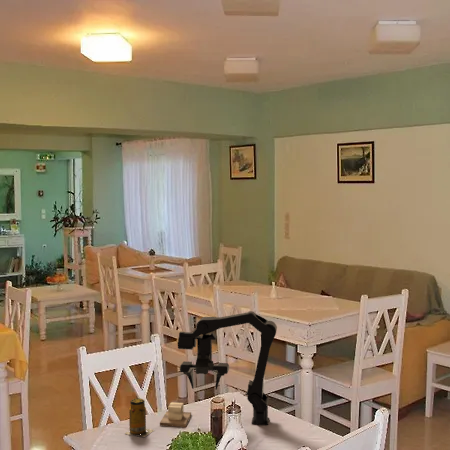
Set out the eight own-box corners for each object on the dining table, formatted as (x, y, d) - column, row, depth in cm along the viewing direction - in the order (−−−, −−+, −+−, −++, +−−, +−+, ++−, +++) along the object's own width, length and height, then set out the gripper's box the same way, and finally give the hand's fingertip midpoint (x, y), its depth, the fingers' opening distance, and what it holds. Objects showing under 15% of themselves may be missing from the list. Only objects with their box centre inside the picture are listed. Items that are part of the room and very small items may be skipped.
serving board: (166, 414, 244) (166, 411, 244) (191, 415, 243) (191, 412, 243) (159, 425, 232) (159, 422, 232) (185, 427, 231) (185, 423, 231)
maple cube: (171, 414, 240) (171, 402, 240) (183, 415, 240) (183, 403, 239) (168, 419, 235) (168, 406, 235) (180, 420, 235) (180, 407, 234)
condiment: (134, 427, 231) (134, 396, 231) (154, 430, 228) (154, 399, 227) (124, 434, 225) (124, 402, 224) (144, 437, 221) (144, 405, 221)
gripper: (176, 354, 231) (177, 394, 232) (225, 356, 228) (225, 397, 229) (182, 347, 242) (182, 385, 243) (229, 348, 239) (229, 387, 240)
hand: (204, 389), depth 238 cm, fingers open, 9 cm apart
